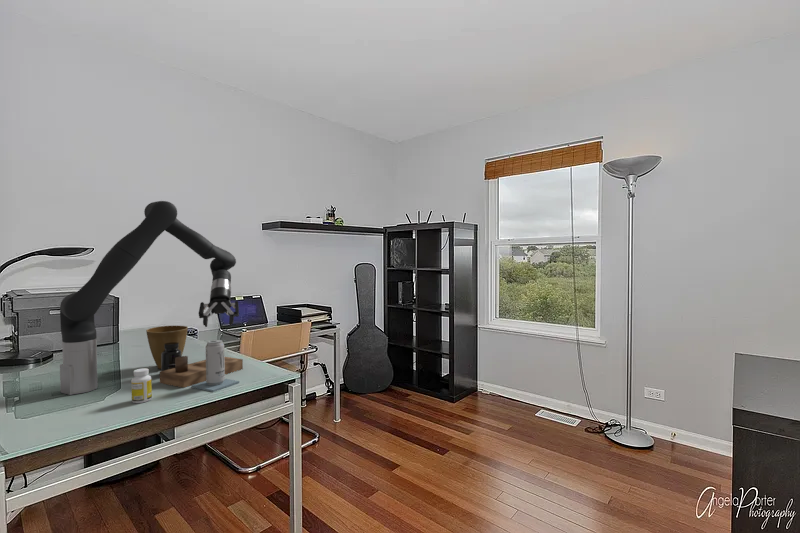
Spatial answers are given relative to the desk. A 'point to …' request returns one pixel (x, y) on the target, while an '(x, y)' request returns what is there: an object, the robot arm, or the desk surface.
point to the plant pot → (165, 339)
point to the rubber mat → (215, 387)
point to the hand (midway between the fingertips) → (218, 324)
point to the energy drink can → (215, 362)
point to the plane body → (194, 371)
